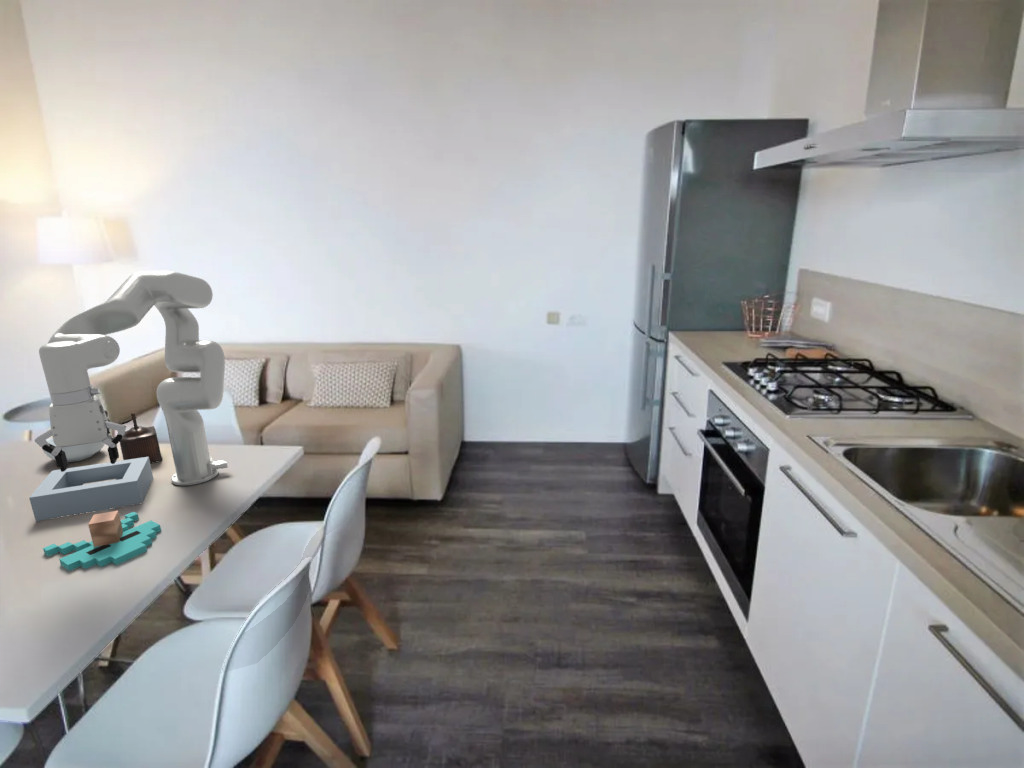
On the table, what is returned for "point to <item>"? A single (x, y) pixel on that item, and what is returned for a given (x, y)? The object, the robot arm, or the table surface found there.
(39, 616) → the table surface
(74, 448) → the cereal bowl
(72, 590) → the table surface
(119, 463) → the slot box
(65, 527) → the table surface
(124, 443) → the brown manual coffee grinder
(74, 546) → the alien figure
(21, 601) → the table surface
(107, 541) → the terracotta cube
